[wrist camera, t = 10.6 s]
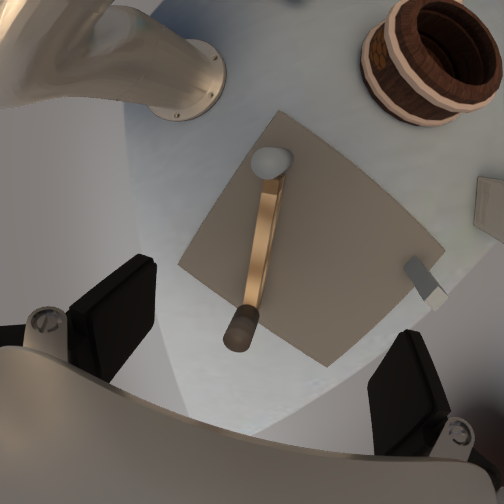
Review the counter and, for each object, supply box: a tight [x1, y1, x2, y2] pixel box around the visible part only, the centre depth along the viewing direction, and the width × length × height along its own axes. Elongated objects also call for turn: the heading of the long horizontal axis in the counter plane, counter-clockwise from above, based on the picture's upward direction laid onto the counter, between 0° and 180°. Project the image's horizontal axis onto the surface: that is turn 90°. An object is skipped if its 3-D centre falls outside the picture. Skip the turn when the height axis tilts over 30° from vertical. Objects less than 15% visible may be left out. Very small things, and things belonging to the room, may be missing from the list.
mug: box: [360, 0, 503, 126], centre depth 20 cm, size 20×15×15 cm
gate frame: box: [251, 147, 449, 311], centre depth 30 cm, size 26×3×13 cm, turn 56°
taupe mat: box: [178, 110, 445, 367], centre depth 39 cm, size 30×27×1 cm
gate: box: [223, 174, 286, 352], centre depth 33 cm, size 20×3×13 cm, turn 171°
